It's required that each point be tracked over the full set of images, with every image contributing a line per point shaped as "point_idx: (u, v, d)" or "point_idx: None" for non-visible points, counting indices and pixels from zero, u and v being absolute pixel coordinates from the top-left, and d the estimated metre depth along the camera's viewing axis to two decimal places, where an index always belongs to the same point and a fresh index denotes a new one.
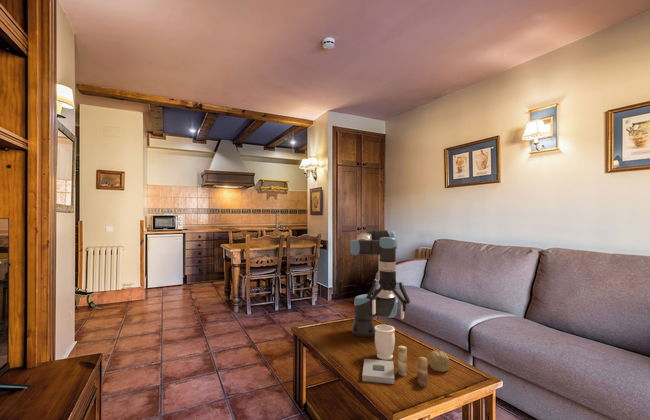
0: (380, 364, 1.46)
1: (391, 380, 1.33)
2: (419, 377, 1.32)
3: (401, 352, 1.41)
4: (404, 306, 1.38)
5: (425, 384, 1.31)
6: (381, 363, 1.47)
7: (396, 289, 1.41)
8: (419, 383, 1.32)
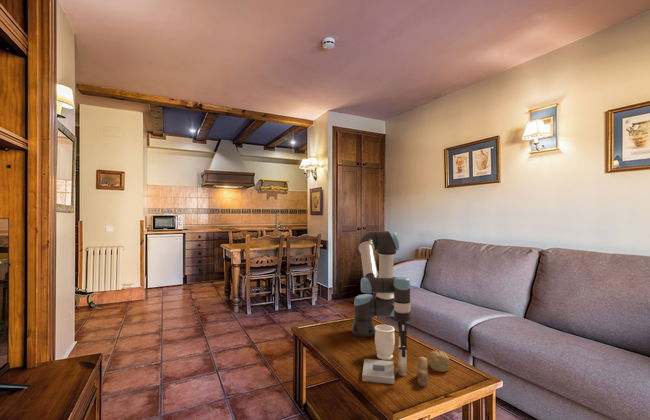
0: (380, 364, 1.46)
1: (391, 380, 1.33)
2: (419, 377, 1.32)
3: None
4: (402, 351, 1.35)
5: (425, 384, 1.31)
6: (381, 363, 1.47)
7: None
8: (419, 383, 1.32)
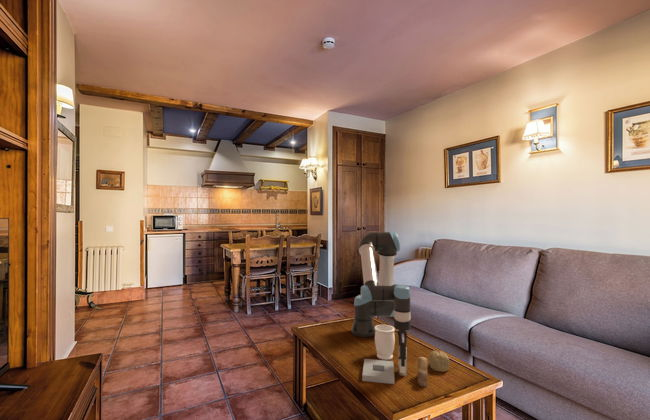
0: (380, 364, 1.46)
1: (391, 380, 1.33)
2: (419, 377, 1.32)
3: None
4: (401, 361, 1.39)
5: (425, 384, 1.31)
6: (381, 363, 1.47)
7: None
8: (419, 383, 1.32)
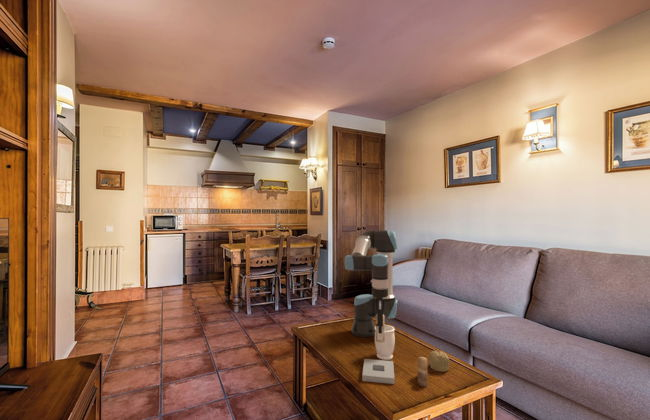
0: (380, 364, 1.46)
1: (391, 380, 1.33)
2: (419, 377, 1.32)
3: None
4: (378, 328, 1.40)
5: (425, 384, 1.31)
6: (381, 363, 1.47)
7: None
8: (419, 383, 1.32)
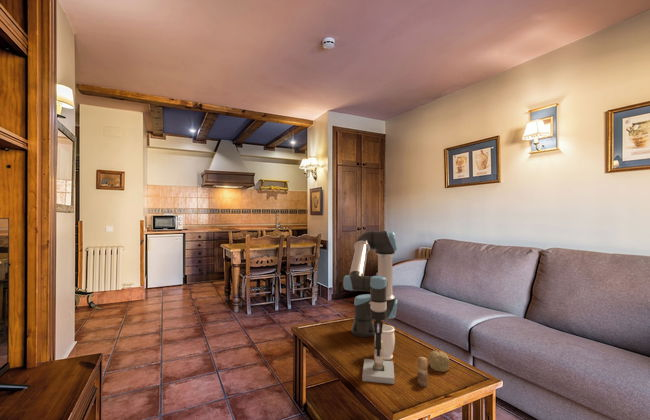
0: None
1: (391, 380, 1.33)
2: (420, 378, 1.32)
3: None
4: (376, 350, 1.39)
5: (426, 384, 1.31)
6: None
7: None
8: (420, 383, 1.32)
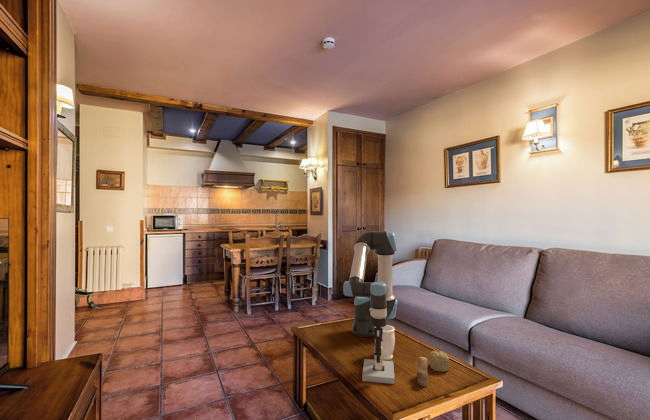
0: None
1: (391, 380, 1.33)
2: (420, 377, 1.32)
3: None
4: (376, 357, 1.35)
5: (426, 383, 1.32)
6: None
7: None
8: (420, 383, 1.32)
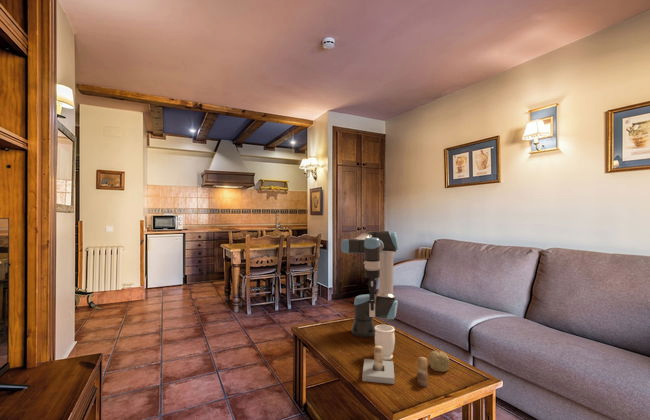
0: None
1: (391, 380, 1.33)
2: (421, 378, 1.31)
3: (377, 352, 1.41)
4: (370, 305, 1.43)
5: (426, 383, 1.32)
6: None
7: None
8: (421, 384, 1.31)
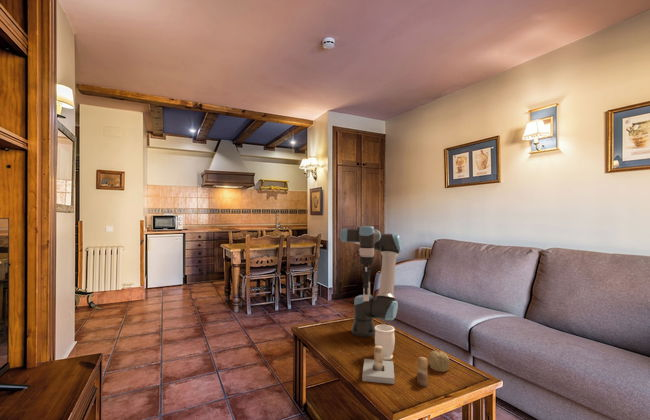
0: None
1: (391, 380, 1.33)
2: (421, 378, 1.31)
3: (377, 352, 1.41)
4: (364, 289, 1.50)
5: (426, 382, 1.32)
6: None
7: None
8: (422, 384, 1.31)
